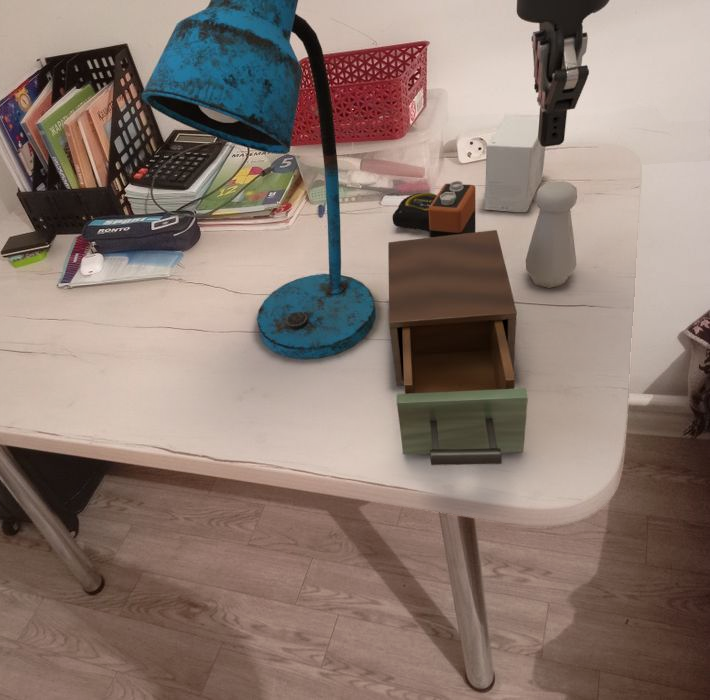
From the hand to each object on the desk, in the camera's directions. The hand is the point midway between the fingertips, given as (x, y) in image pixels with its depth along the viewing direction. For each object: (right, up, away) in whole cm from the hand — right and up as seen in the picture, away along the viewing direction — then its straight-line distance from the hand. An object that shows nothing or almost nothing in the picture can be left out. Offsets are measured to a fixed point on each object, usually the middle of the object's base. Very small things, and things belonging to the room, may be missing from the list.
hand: (550, 142), depth 64 cm
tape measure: (-4, -3, +31) cm, 32 cm away
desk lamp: (-23, -19, +20) cm, 36 cm away
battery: (-2, -8, +24) cm, 26 cm away
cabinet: (-7, -20, +12) cm, 24 cm away
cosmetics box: (+10, +2, +32) cm, 33 cm away
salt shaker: (+8, -12, +16) cm, 21 cm away
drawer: (-9, -28, +2) cm, 30 cm away
